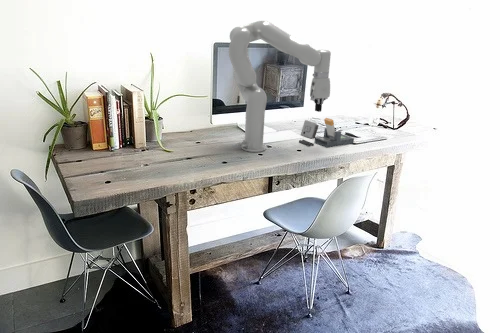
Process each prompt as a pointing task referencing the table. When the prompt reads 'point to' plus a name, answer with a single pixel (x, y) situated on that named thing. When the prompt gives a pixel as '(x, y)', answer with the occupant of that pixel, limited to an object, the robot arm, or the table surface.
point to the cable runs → (306, 143)
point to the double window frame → (333, 140)
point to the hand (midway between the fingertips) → (318, 111)
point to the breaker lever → (330, 127)
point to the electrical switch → (309, 129)
